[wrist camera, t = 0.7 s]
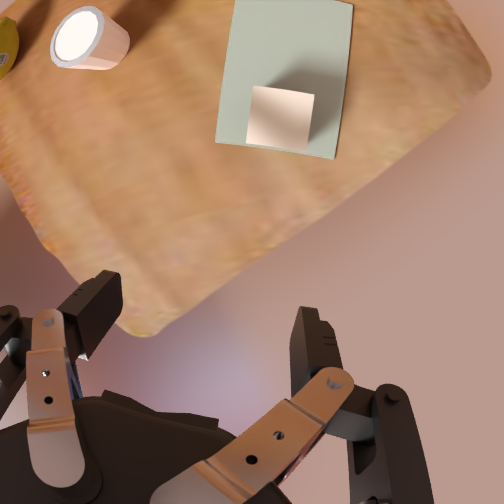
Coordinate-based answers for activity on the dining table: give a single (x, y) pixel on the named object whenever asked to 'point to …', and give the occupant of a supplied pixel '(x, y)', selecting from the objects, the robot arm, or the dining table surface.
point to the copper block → (279, 118)
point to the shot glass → (89, 41)
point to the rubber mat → (287, 65)
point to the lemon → (8, 44)
